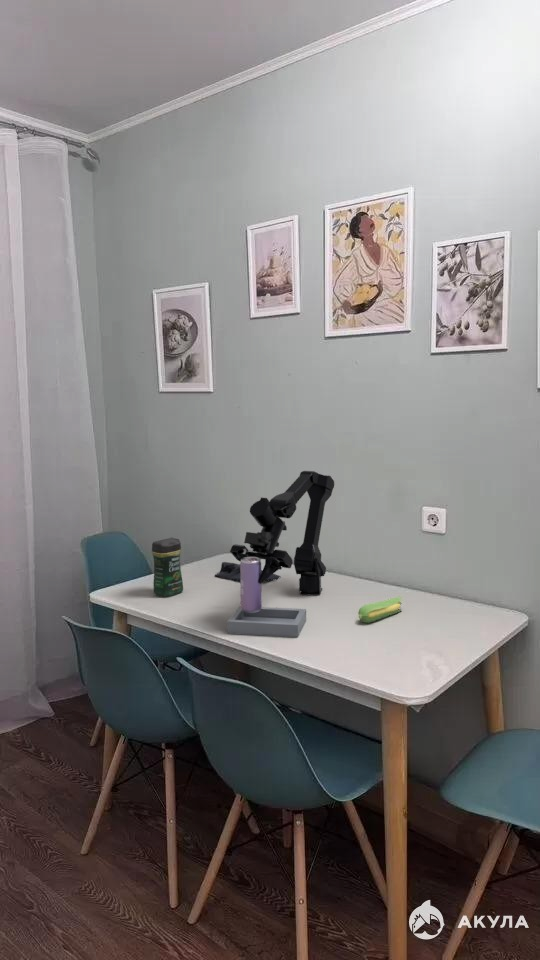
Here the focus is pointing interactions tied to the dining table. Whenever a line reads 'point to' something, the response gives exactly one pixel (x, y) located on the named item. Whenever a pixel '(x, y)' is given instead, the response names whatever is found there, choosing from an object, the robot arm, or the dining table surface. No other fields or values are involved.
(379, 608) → the edible corn
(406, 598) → the dining table surface
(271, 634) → the tray
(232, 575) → the dark slate chunk
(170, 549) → the coffee jar
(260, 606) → the beverage can
